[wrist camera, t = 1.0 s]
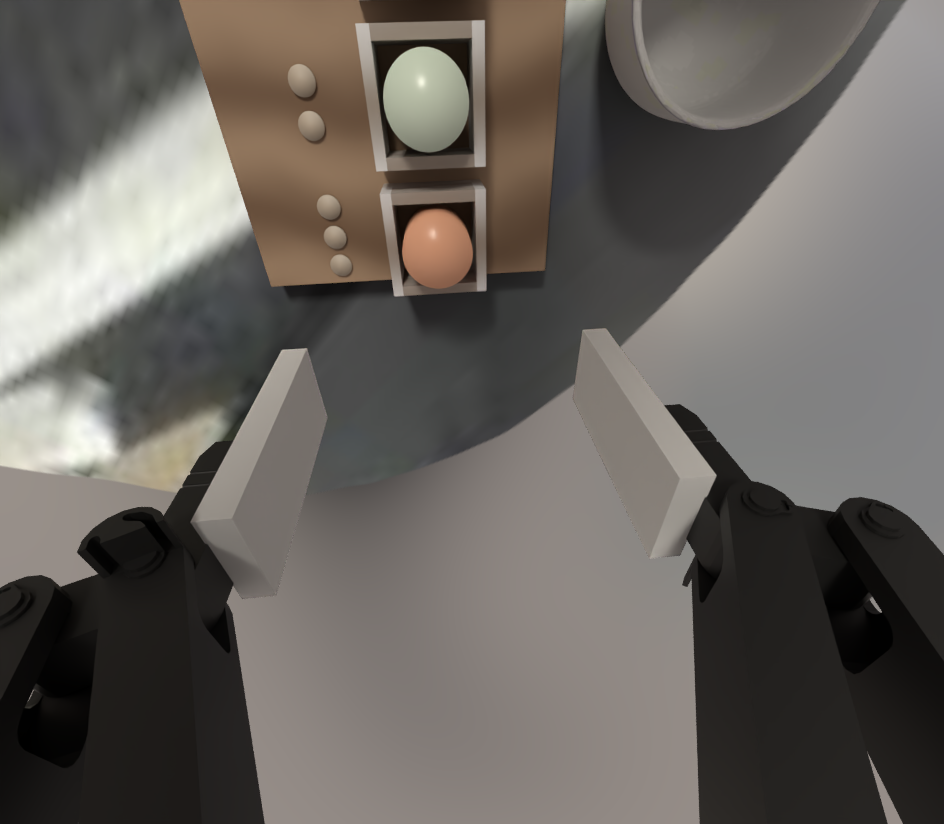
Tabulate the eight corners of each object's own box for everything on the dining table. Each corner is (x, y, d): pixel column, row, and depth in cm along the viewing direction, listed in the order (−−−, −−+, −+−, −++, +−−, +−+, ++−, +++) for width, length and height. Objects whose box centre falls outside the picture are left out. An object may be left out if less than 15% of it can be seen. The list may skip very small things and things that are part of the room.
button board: (138, -178, 19) (61, -250, 15) (569, -178, 20) (606, -244, 16) (278, 277, 31) (257, 305, 27) (539, 262, 32) (555, 287, 28)
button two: (381, 52, 21) (376, 47, 19) (462, 49, 21) (467, 45, 19) (393, 146, 24) (389, 153, 21) (465, 144, 24) (470, 150, 21)
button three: (400, 206, 25) (397, 218, 23) (467, 203, 26) (472, 215, 23) (408, 273, 28) (406, 290, 25) (469, 269, 28) (473, 286, 26)
